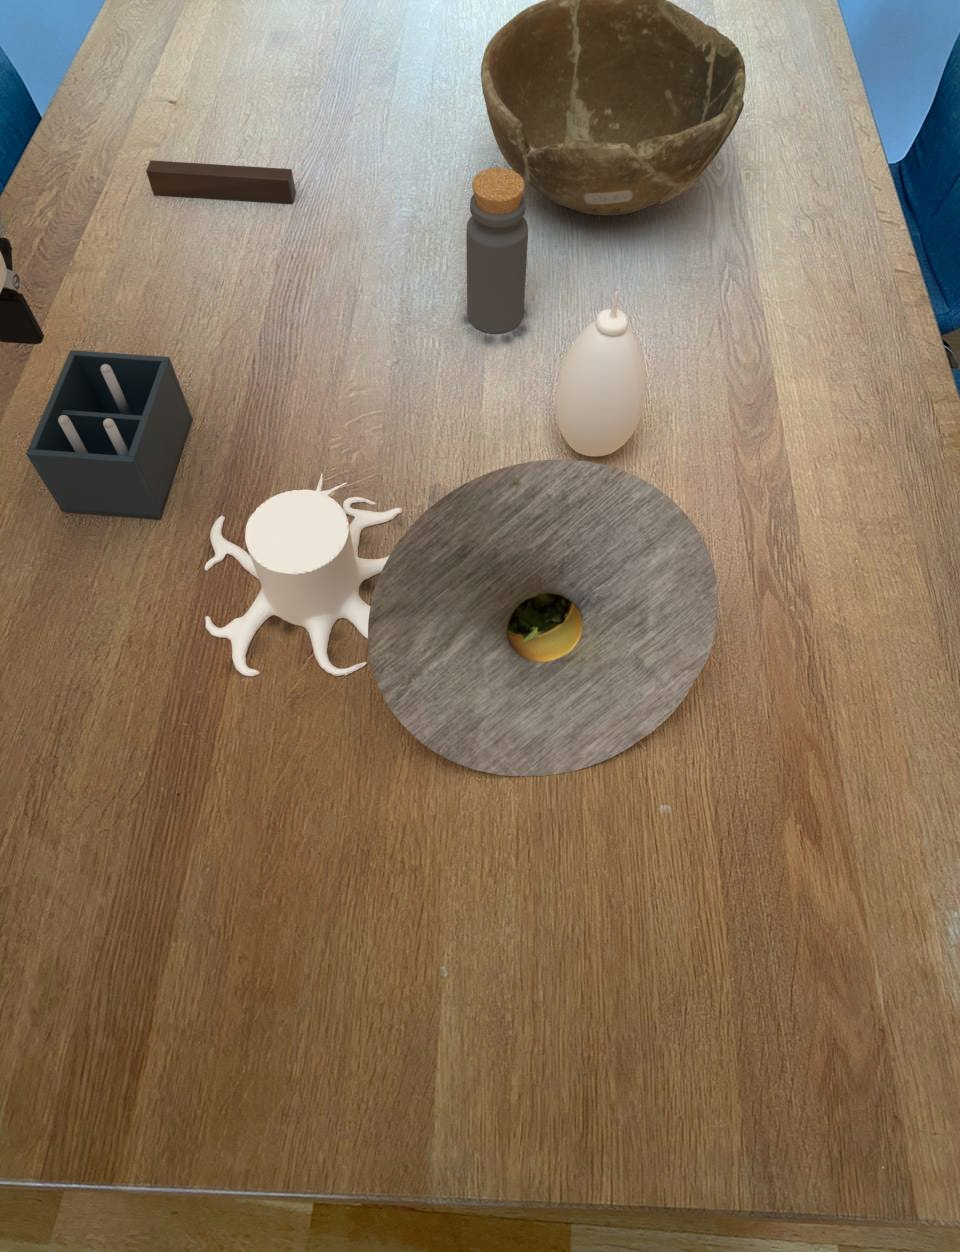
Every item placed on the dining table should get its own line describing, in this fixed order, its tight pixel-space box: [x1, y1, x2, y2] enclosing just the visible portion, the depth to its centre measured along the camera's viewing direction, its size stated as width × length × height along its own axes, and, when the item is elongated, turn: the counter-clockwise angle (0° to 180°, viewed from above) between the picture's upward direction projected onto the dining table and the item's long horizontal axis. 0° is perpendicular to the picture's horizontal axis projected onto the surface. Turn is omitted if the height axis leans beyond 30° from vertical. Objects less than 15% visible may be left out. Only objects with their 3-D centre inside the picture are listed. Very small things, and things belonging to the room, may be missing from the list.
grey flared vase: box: [367, 459, 719, 777], centre depth 72 cm, size 25×18×25 cm
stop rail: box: [145, 159, 297, 205], centre depth 106 cm, size 2×16×3 cm, turn 85°
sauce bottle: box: [554, 290, 647, 457], centre depth 81 cm, size 8×8×18 cm
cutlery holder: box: [25, 349, 193, 521], centre depth 83 cm, size 12×9×10 cm
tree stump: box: [204, 473, 403, 677], centre depth 77 cm, size 20×19×8 cm
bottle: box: [465, 167, 529, 335], centre depth 91 cm, size 6×6×15 cm
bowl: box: [480, 0, 747, 216], centre depth 101 cm, size 28×27×15 cm
